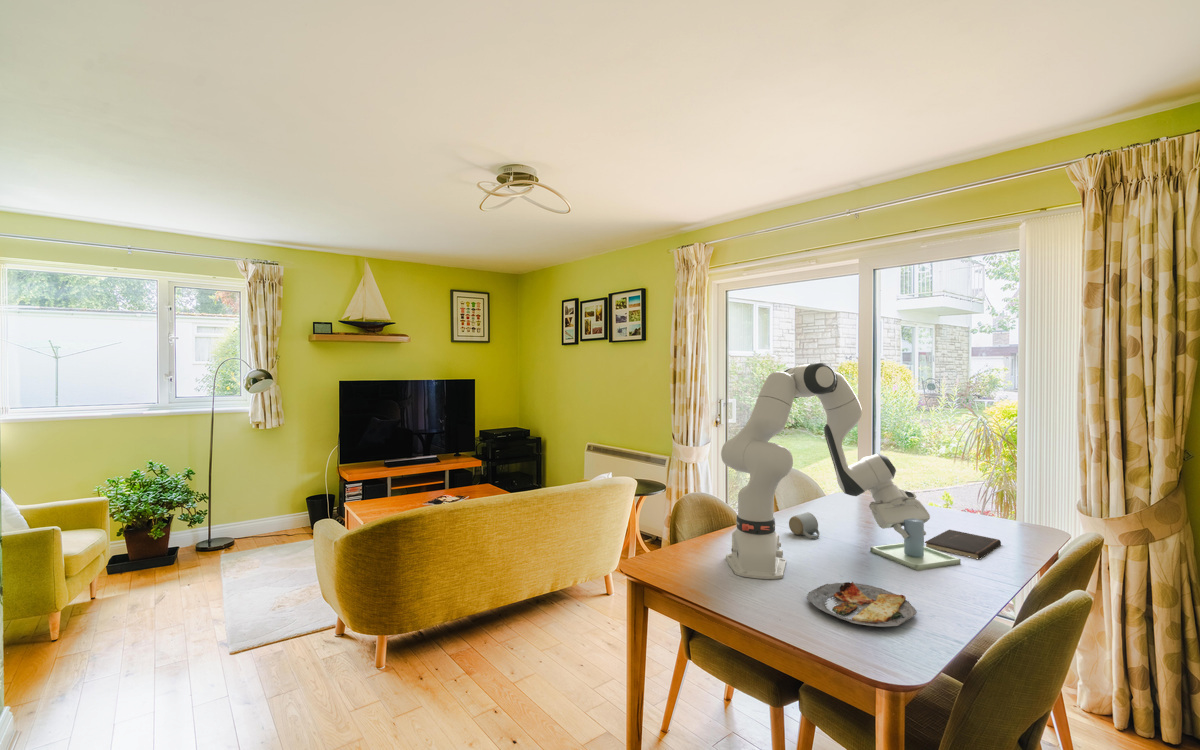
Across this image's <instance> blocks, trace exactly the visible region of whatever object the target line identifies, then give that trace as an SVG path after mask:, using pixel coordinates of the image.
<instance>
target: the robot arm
mask: <svg viewBox="0 0 1200 750" xmlns="http://www.w3.org/2000/svg"><path fill="white" fill-rule="evenodd" d="M811 397H817V398H818V399H819V400H820V403H821V405H822V407H823V409H824V411H825V413H826V424H825V425H824V427H823V431H824V433H823V434H824V437H825V441H826V444H827V448H828V450H829V454H830V458H831V461H832V464H833V468H834V471H835V476H836V479H837V480H836V482H837V483H838V487H839V488H840V490H841V491H842V493H844V494H846V495H847V496H852V497H858V496H860V495H862V494H863V493H865V492H867V491H869V492H870V494H871V498H872V499H873V500H874V501H871V502H870V503H869V505H868V507H869V509H870V511H871V514H872V516H873V518H874V520H875V521H876V524H877V525H878V527H880V528H881V529H891V528H892V529H894V531H895V532H897V533H898V534H900V535H901V537H902V538H903V540H904V539H906V538H909V537H910V534H909V533H908V531H905V530H904V520H905V519H912V518H915V519H920V520H923V521H924V524H925V523H926V522H928V521H929V520H930V519H931V515H930V513H929V511H928V510H927V509H926V507H925V506H924V505H923V503H922V502H921V501H920V500H919V499H917V495H916V494H915V493H914V492H912V491H908V490H904V489H902V488H899V487H898V486H897V484H895V483H894V482H893V481H892V480H894V477H895V475H896V472H897V469H896V467H895V466H894V465H893V463H892V462H891V460H890V459H889V457H888V456H887V455H884V454H881V453H875V454H872V455H869V456H868V455H867V456H863V457H862V458H859V459H858V460H857V461H856V462H855V463H852V464H850V465H848V462H847V459H846V455H845V452H844V448H843V442H844V439H845V438H846V436H847V435H848V434H849V433H850V431H852V429H854V428H855V426H857V424H858V423H859V421H860V420H861V417H862V414H863V408H862V406H861V403H860V401H859V399H858V398H859V397H858V396H857V395H856V394H855V391H854V389H853V388H852V386H851V385H850V384H849V383H848V381H847V379H846V378H845V377H844V376H843V375H842V373H840V372H838V371H835V370H834V369H833V368H832V367H831V365H829V364H827V363H824V362H817V361H816V362H812V363H806V364H800V365H796V366H794V367H790V368H787V369H786V370H784V371H773V372H771V373H770V374H769V375H768V376H767V378H766V379H765V381H764V383H763V385H762V387H761V388H760V392H759V393H758V397H757V399H756V402H755V404H754V407H753V409H752V412H751V414H750V417H749V418H748V421H746V423H745V425H744V426H743V427H742V429H740V431H739V432H738V433H737V434H736V435H734V436H733V437H732V438H730V439H727V440H726V441H725V442H724V444H722V448H721V452H720V456H721V460H722V462H723V465H725V466H726V467H729V468H730V469H732V470H735V471H737V472H741V473H745V474H749V481H748V484H747V485H745V486H743V487H741V488H740V489H739V491H738V494H737V515H736V519H735V522H736V529H734V531H732V533H731V553H727V554H726V555H725V559H726V562H727V564H728V565H729V566H730V568H731V570H732V572H733V573H734V574H735V575H737V576H739V577H745V578H749V579H750V578H752V579H761V580H777V579H778V580H779V579H783V578H784V576H785V571H786V566H787V559H786V558H784V555H783V554H784V553H783V552H784V551H783V550H782V549H780V548H782V542H780V535H779V534H778V533H777V532H776V520H775V517H774V507H775V506H774V505H775V493H776V490H777V487H778V485H779V483H780V482H781V480H783V479H784V478H785V477H787V476H788V475H789V474H790V472H791V471H792V469H793V464H794V459H793V455H792V452H791V451H790V450H789V449H788V448H787V447H785V446H783V445H781V444H778V443H776V442H772V441H771V442H769V441H770V440H771V439H772V438H773V437H774V436H777V435H779V434H780V433H782V432H783V431H784V429H785V427H786V425H787V421H788V418H789V416H790V413H791V410H792V406H793V402H794V400H795V399H798V398H811ZM902 527H903V528H902ZM926 535H927V532H926V531H925V530H924V537H925V536H926Z"/></svg>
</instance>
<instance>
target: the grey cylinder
mask: <svg viewBox="0 0 1200 750" xmlns="http://www.w3.org/2000/svg"><path fill="white" fill-rule="evenodd" d="M903 529H904V530H905V531H908V533H909V534H910V537H909V538H906V539H904V538H903V543H904V553H905V554H907V555H909V556H914V557H922V556H924V546H925V536H924V531H925V523H924V521H923V520H920V519H915V518H912V519H905V520H904V526H903Z"/></svg>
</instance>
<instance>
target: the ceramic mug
mask: <svg viewBox="0 0 1200 750" xmlns="http://www.w3.org/2000/svg"><path fill="white" fill-rule="evenodd" d="M788 527H789V529H790V531H791V532H792V534H793V535H795V534H796V536H805V537H807V538H808V539H811V538H813V539H812V540H816V539H815V538H817V539H819V538H820V531H819V522H818V519H817V518H816V516H815V515H814V513H811V512H803V513H800V514H797V515H793V516H791V517H790V519H789V521H788ZM815 533H816V535H813V534H815Z"/></svg>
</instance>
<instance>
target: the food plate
mask: <svg viewBox="0 0 1200 750" xmlns="http://www.w3.org/2000/svg"><path fill="white" fill-rule="evenodd" d="M806 599H807V600H808V602H810V603H811V604H812V605H813V606H814V607H815V608H817V609H818V610H820V611H823V612H824V613H825V614H829V615H831V616H833V617H836V618H837V619H839V620H844V621H847V622H849V623H851V624H857V625H863V626H867V627H898V626H900V625H902V624H903V623H905V622H908V621H909V620H910V619H911V618H913V617H914V616H916V615H917V610H916V608H915V607H914V606H913V605H912V604H911V603H910V601H909V600H907V599H906V596H905V595H903V594H896V593H893V592H891V591H888V590H886V589H883V588H880V587H876V586H873V585H869V584H862V583H854V582H853V581H851V582H850V581H848V582H834V583H825V584H823V585H821V586H818V587H816V588H814V589H813V590H811V591H809V592H808V593H807V598H806ZM828 599H829V600H828ZM830 600H831V601H833V602H834V605H835V606H833V607H832V610H830V608H829V609H828V606H827V605H828V603H827V602H828V601H830ZM852 613H856V614H855V615H853V617H852V618H848V617H845V616H849V615H850V614H852Z"/></svg>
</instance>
